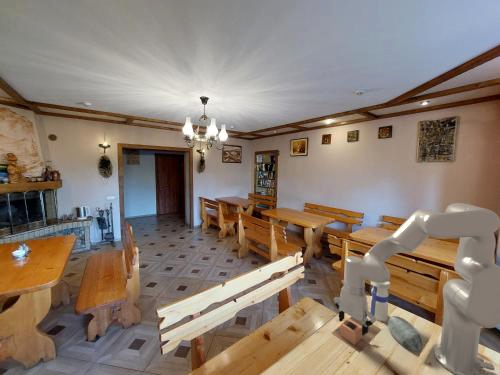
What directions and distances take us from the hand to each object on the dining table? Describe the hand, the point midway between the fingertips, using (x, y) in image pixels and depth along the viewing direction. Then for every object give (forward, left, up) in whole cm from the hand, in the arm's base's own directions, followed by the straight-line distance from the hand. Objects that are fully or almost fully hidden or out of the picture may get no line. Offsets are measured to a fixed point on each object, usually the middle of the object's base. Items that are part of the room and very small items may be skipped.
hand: (352, 326), depth 88 cm
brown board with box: (-2, -4, -6) cm, 8 cm away
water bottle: (-14, -18, -6) cm, 24 cm away
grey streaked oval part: (-20, -6, -7) cm, 22 cm away
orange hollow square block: (0, 0, -5) cm, 5 cm away
